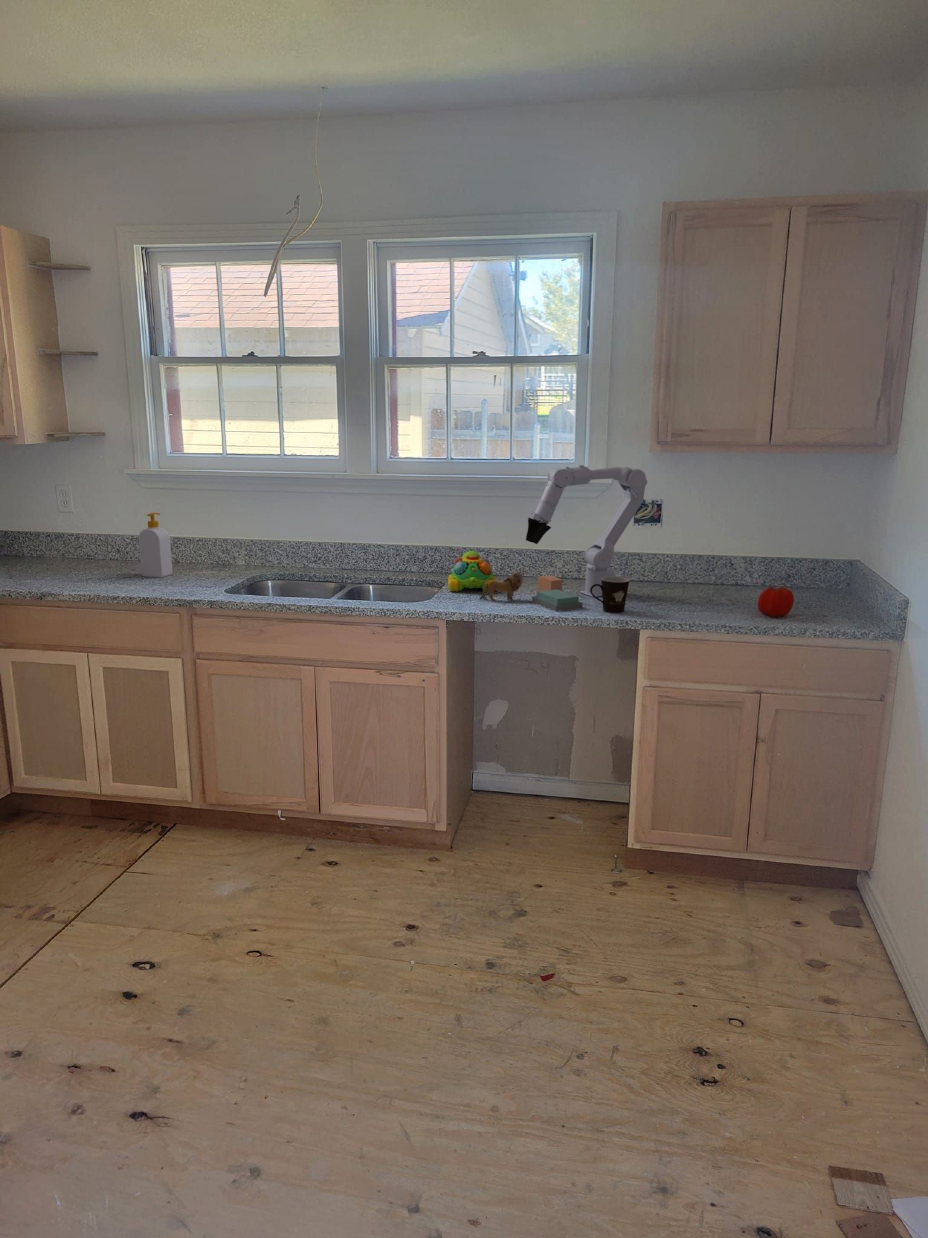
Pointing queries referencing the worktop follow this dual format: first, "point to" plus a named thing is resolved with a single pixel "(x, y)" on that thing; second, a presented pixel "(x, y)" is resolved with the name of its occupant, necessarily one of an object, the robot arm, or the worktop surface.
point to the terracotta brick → (549, 583)
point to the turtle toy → (470, 572)
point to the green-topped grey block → (557, 600)
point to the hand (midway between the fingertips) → (531, 542)
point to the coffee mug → (613, 593)
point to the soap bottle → (155, 550)
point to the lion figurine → (503, 586)
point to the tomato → (775, 601)
